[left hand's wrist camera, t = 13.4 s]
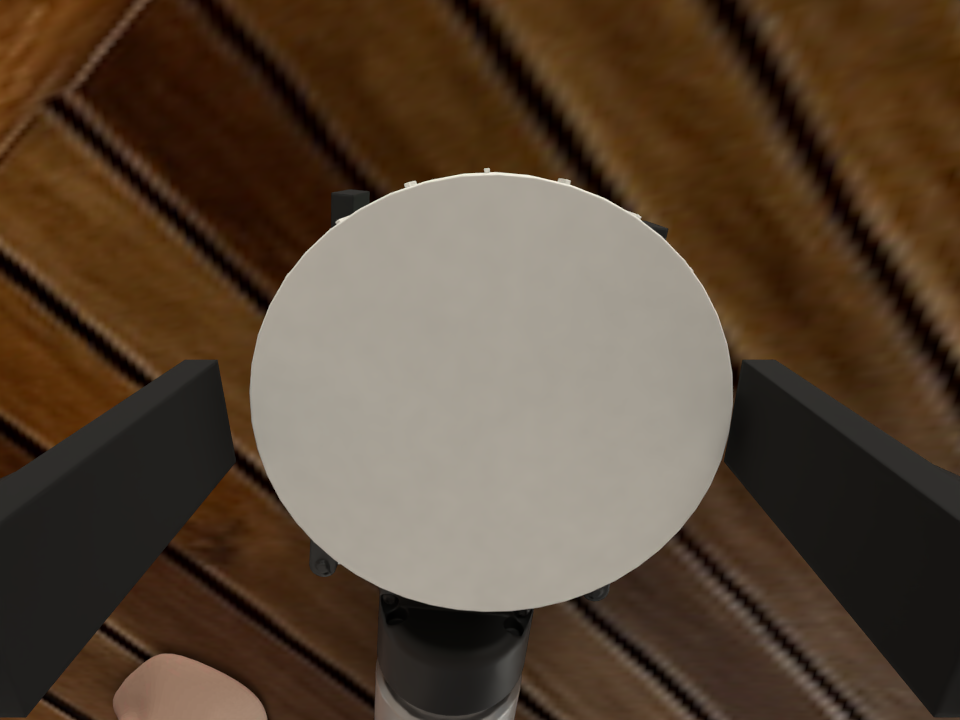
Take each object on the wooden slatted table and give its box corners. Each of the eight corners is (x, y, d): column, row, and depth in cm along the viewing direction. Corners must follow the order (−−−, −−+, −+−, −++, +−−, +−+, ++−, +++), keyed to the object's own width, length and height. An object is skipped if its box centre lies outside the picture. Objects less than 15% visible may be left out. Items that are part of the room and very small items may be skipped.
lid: (353, 599, 16) (339, 646, 14) (202, 236, 12) (161, 247, 11) (723, 528, 15) (751, 571, 13) (678, 111, 11) (710, 102, 10)
